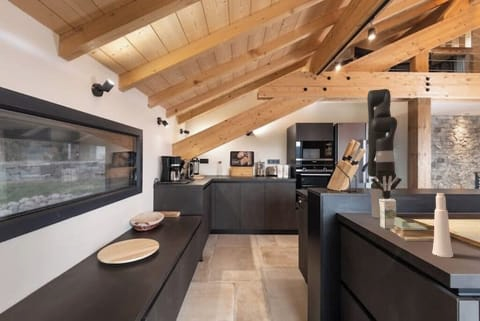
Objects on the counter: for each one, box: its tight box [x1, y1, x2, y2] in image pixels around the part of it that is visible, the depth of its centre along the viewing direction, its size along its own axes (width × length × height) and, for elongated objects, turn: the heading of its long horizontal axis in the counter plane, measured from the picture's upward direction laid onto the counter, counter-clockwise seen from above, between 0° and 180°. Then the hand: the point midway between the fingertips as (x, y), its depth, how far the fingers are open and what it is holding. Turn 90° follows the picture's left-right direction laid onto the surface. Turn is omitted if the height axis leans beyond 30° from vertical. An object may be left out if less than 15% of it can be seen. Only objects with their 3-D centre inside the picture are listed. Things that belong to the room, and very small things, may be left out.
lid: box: [394, 216, 427, 230], centre depth 118 cm, size 10×10×4 cm
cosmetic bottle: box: [431, 192, 454, 258], centre depth 94 cm, size 6×6×22 cm
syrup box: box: [379, 198, 397, 230], centre depth 132 cm, size 6×6×14 cm
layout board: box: [389, 224, 452, 242], centre depth 117 cm, size 17×17×4 cm
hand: (386, 198), depth 119 cm, fingers closed
